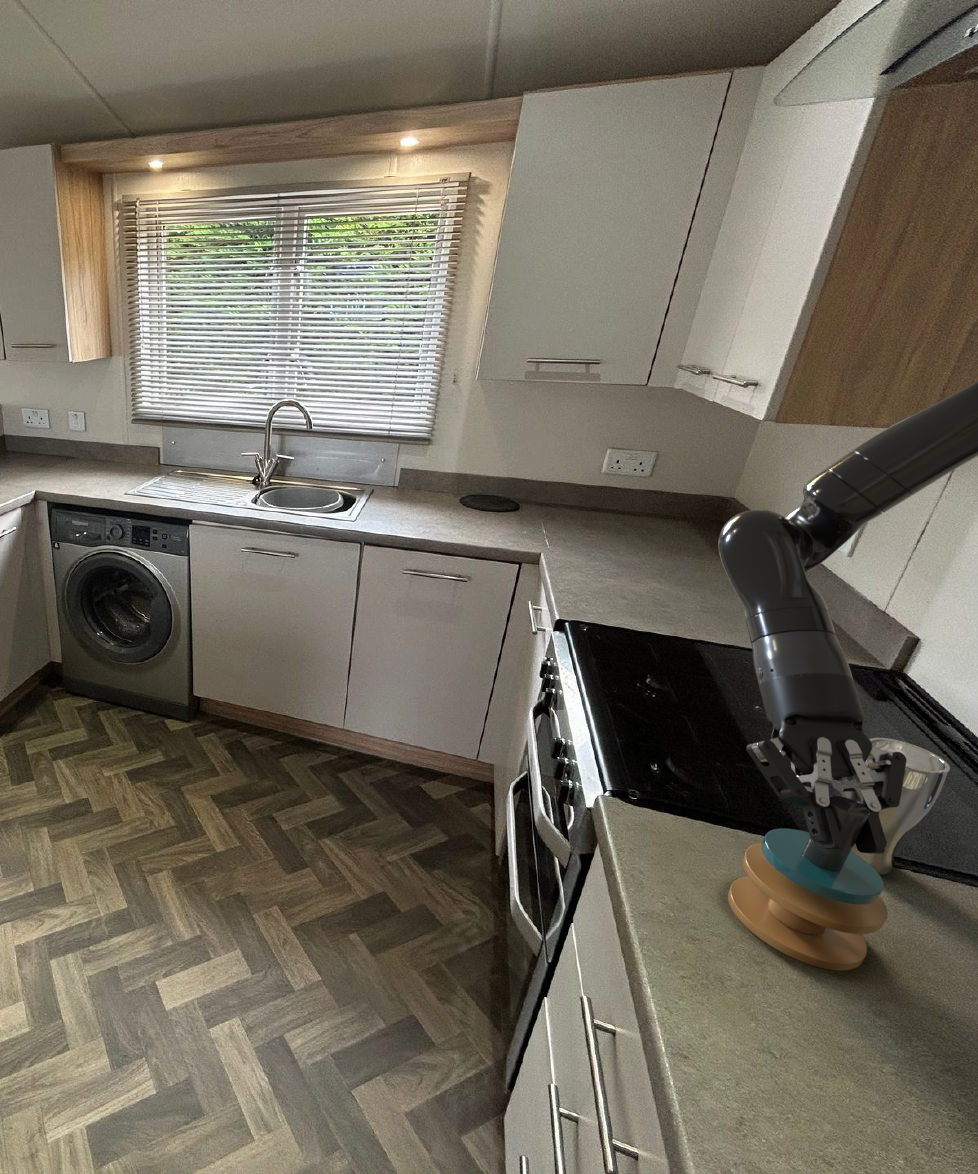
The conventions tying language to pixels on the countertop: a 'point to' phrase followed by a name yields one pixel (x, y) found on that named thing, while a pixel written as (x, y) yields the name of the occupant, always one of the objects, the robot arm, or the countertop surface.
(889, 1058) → the countertop surface
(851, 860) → the disc
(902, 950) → the countertop surface
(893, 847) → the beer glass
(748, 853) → the stand
